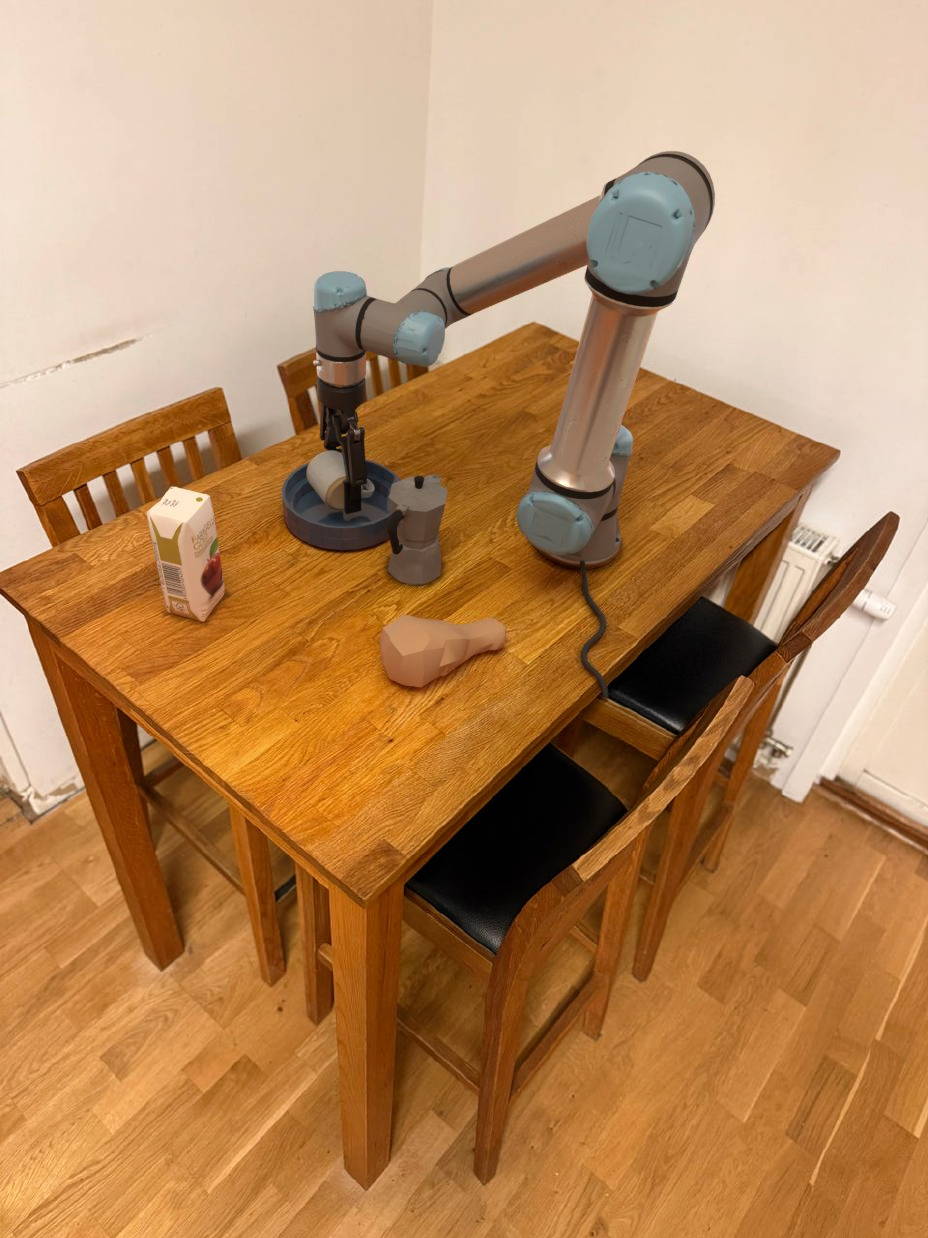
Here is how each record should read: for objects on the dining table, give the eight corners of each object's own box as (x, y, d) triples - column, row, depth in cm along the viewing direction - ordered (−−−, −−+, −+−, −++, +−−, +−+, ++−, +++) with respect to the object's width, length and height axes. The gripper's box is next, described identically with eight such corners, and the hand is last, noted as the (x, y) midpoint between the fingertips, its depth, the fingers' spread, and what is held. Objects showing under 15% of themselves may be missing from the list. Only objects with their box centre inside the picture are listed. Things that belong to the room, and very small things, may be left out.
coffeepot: (409, 537, 152) (413, 447, 140) (458, 556, 150) (466, 466, 137) (362, 588, 142) (361, 495, 130) (413, 608, 139) (418, 516, 127)
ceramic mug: (326, 518, 148) (326, 480, 143) (306, 492, 153) (304, 454, 148) (382, 502, 153) (384, 465, 147) (361, 477, 158) (361, 440, 152)
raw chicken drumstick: (363, 662, 130) (365, 610, 126) (476, 634, 140) (483, 585, 136) (397, 703, 123) (401, 648, 118) (515, 670, 133) (523, 619, 128)
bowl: (422, 537, 153) (423, 511, 149) (306, 565, 145) (305, 539, 141) (376, 472, 166) (377, 447, 162) (268, 495, 158) (266, 469, 154)
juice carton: (159, 615, 134) (137, 514, 121) (188, 580, 140) (169, 480, 127) (205, 627, 133) (188, 526, 120) (231, 592, 139) (217, 492, 126)
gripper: (295, 349, 142) (302, 467, 158) (342, 414, 129) (344, 537, 144) (340, 342, 145) (342, 459, 160) (390, 405, 132) (387, 527, 147)
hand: (343, 496), depth 152 cm, fingers closed on ceramic mug, 8 cm apart
